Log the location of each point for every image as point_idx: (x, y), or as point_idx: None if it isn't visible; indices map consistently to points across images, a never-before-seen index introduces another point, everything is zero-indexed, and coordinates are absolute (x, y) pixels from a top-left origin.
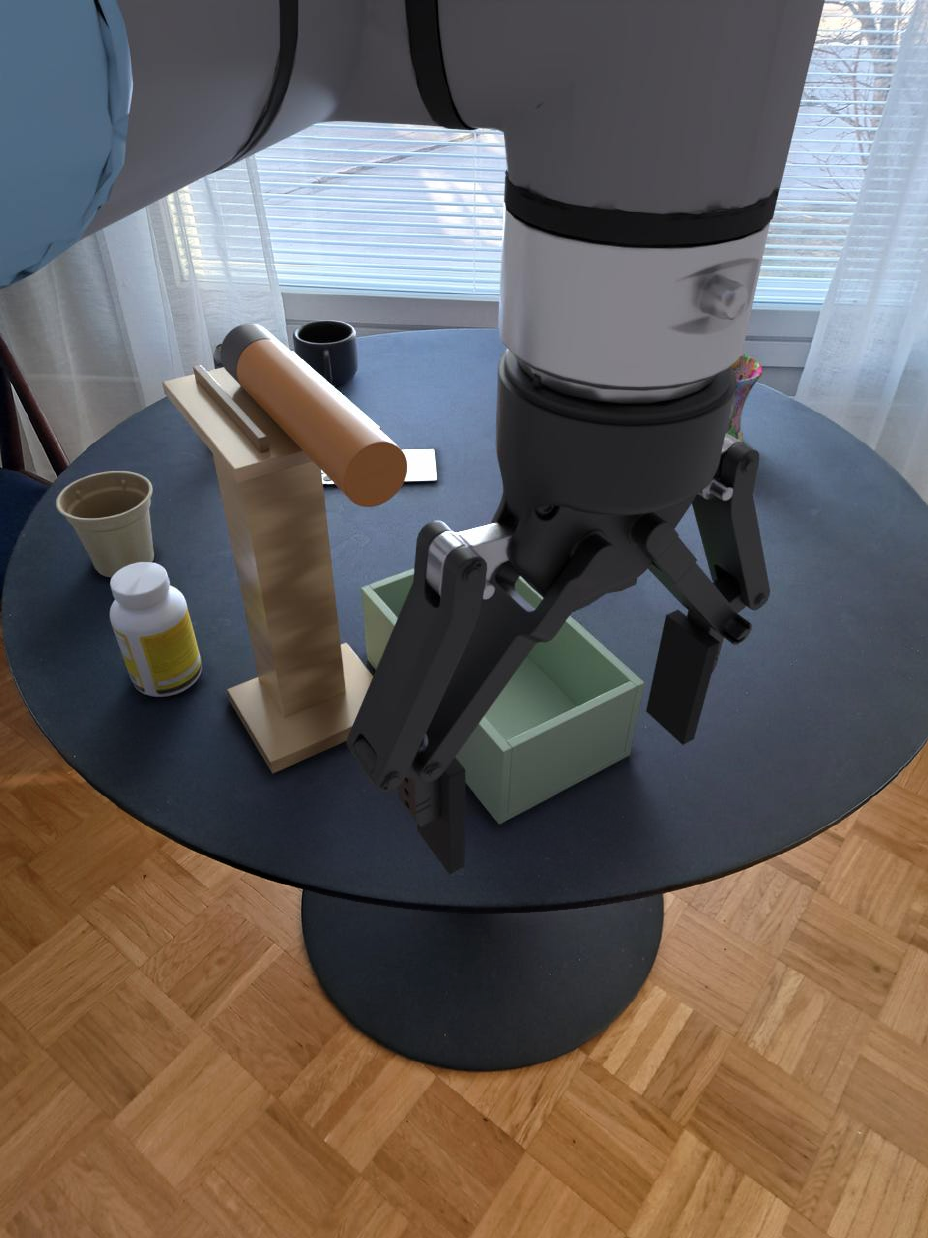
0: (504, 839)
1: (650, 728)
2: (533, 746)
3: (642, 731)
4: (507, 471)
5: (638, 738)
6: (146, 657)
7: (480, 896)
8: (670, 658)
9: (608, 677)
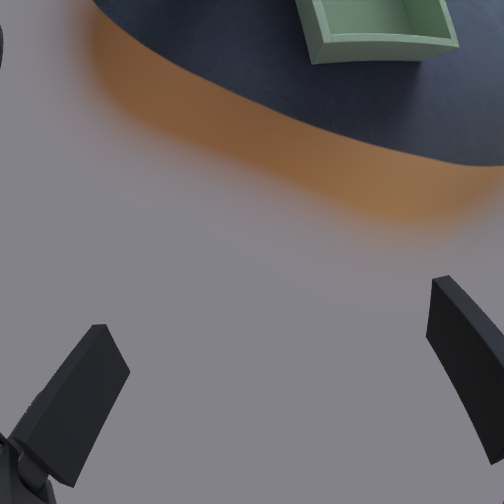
0: (310, 76)
1: None
2: (353, 44)
3: None
4: None
5: None
6: None
7: (276, 108)
8: (485, 375)
9: (436, 21)
